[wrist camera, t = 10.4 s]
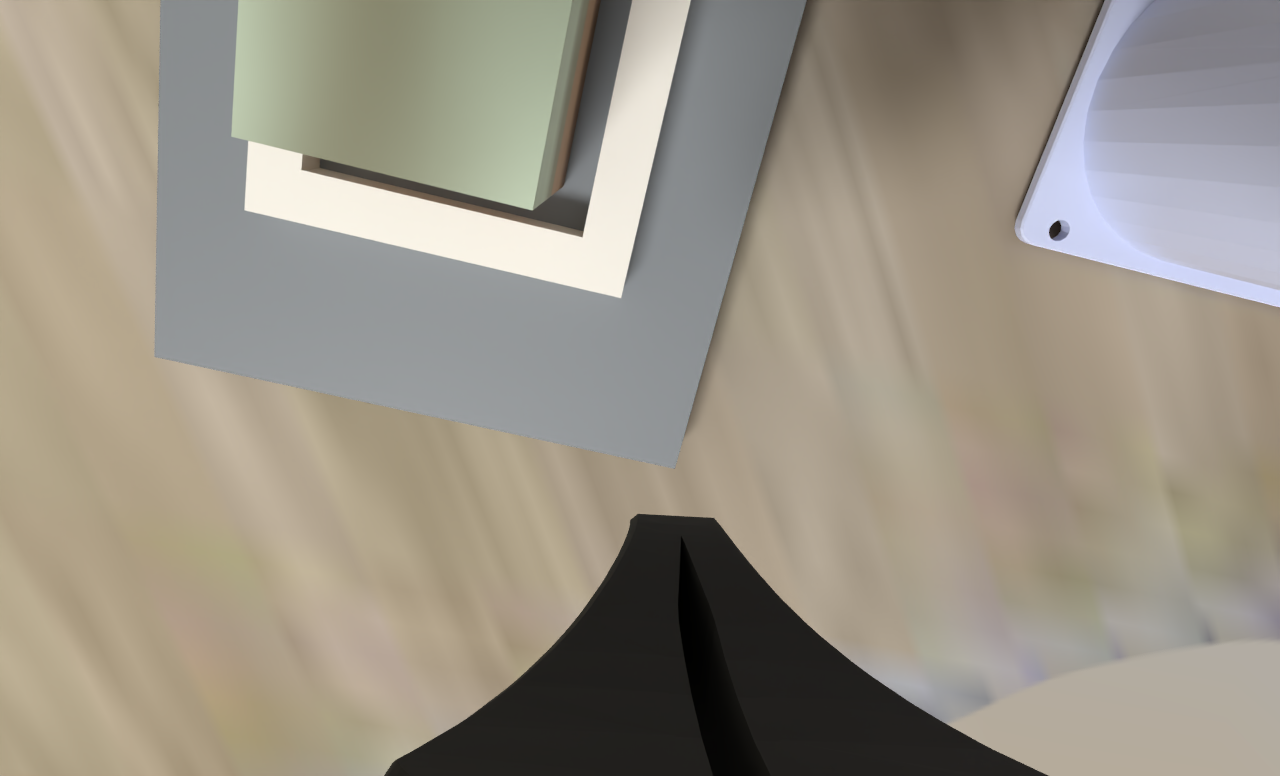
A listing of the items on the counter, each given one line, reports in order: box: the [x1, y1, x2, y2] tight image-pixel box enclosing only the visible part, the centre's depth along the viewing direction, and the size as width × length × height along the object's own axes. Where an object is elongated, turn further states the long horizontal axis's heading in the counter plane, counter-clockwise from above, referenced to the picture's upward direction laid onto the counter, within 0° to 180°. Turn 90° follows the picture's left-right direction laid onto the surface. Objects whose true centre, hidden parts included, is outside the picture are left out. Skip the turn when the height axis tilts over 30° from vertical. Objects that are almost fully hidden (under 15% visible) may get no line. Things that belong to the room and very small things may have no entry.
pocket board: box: [155, 0, 807, 469], centre depth 17 cm, size 14×18×2 cm
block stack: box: [231, 0, 601, 210], centre depth 14 cm, size 5×5×6 cm
